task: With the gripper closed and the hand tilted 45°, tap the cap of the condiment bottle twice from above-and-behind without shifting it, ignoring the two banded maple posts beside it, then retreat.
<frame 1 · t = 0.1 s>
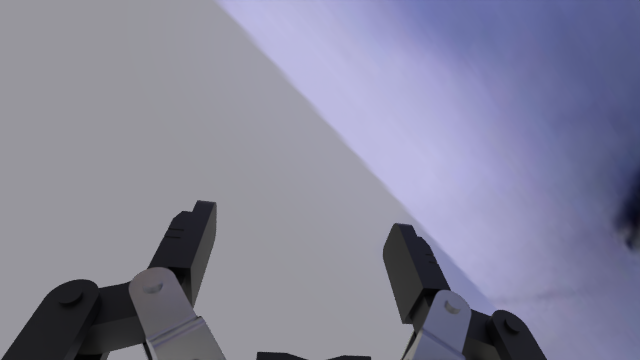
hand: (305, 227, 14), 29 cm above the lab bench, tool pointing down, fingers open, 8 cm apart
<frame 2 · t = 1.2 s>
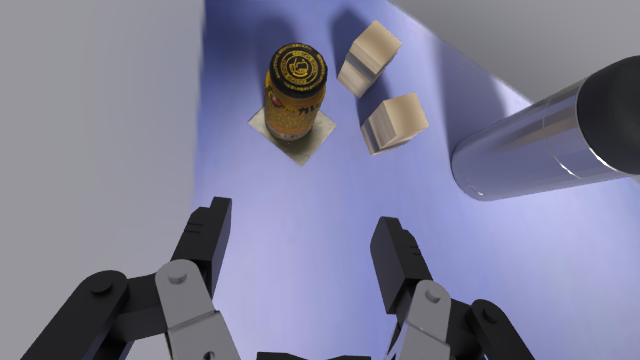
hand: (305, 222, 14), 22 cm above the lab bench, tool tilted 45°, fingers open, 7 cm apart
banded post a: (357, 79, 42), on the lab bench
condiment: (293, 125, 39), on the lab bench
banded post b: (379, 137, 40), on the lab bench
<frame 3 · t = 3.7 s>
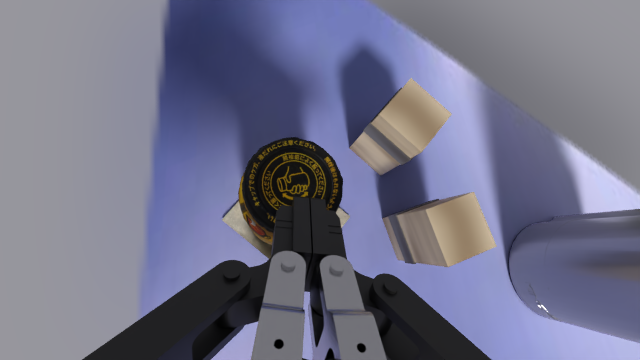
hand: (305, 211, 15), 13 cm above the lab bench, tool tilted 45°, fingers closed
banded post a: (377, 147, 30), on the lab bench
condiment: (288, 218, 27), on the lab bench, touching gripper
banded post b: (408, 231, 29), on the lab bench
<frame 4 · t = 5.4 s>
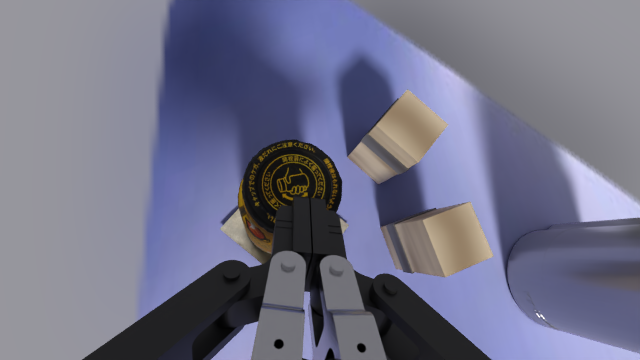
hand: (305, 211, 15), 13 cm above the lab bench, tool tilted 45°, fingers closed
banded post a: (375, 156, 30), on the lab bench
condiment: (286, 227, 27), on the lab bench, touching gripper
banded post b: (406, 240, 29), on the lab bench
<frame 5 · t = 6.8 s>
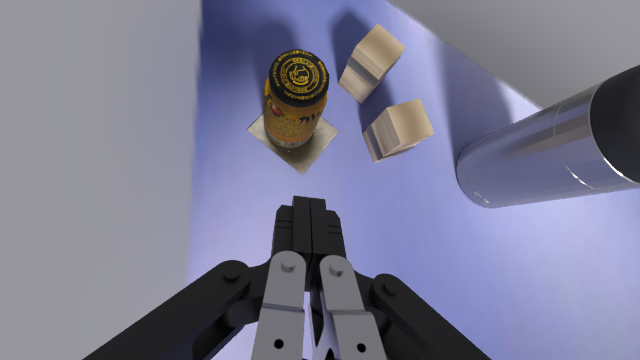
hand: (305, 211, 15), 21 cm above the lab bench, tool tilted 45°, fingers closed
banded post a: (358, 83, 40), on the lab bench
condiment: (293, 132, 38), on the lab bench
banded post b: (381, 143, 39), on the lab bench
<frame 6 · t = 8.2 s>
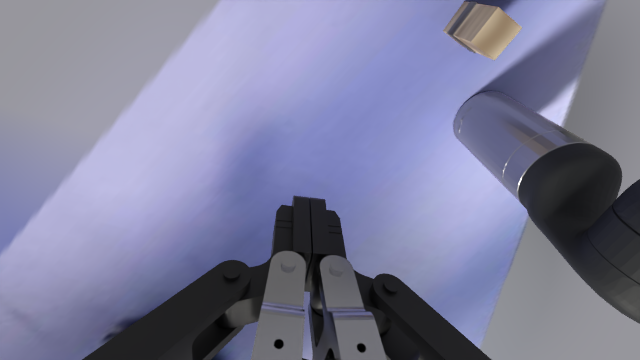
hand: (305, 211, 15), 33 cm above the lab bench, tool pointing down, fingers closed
banded post b: (463, 25, 41), on the lab bench
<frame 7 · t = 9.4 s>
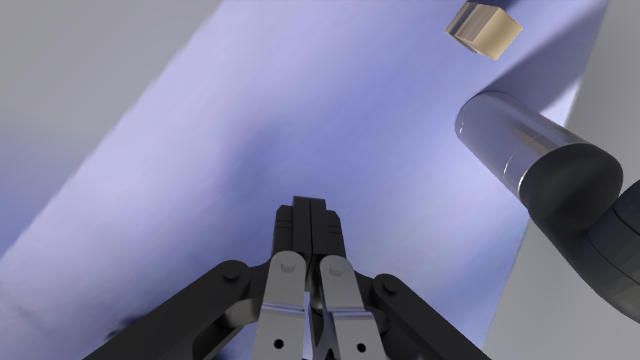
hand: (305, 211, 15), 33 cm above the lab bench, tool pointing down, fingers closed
banded post b: (465, 25, 41), on the lab bench
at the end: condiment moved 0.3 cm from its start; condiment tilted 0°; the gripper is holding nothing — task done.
